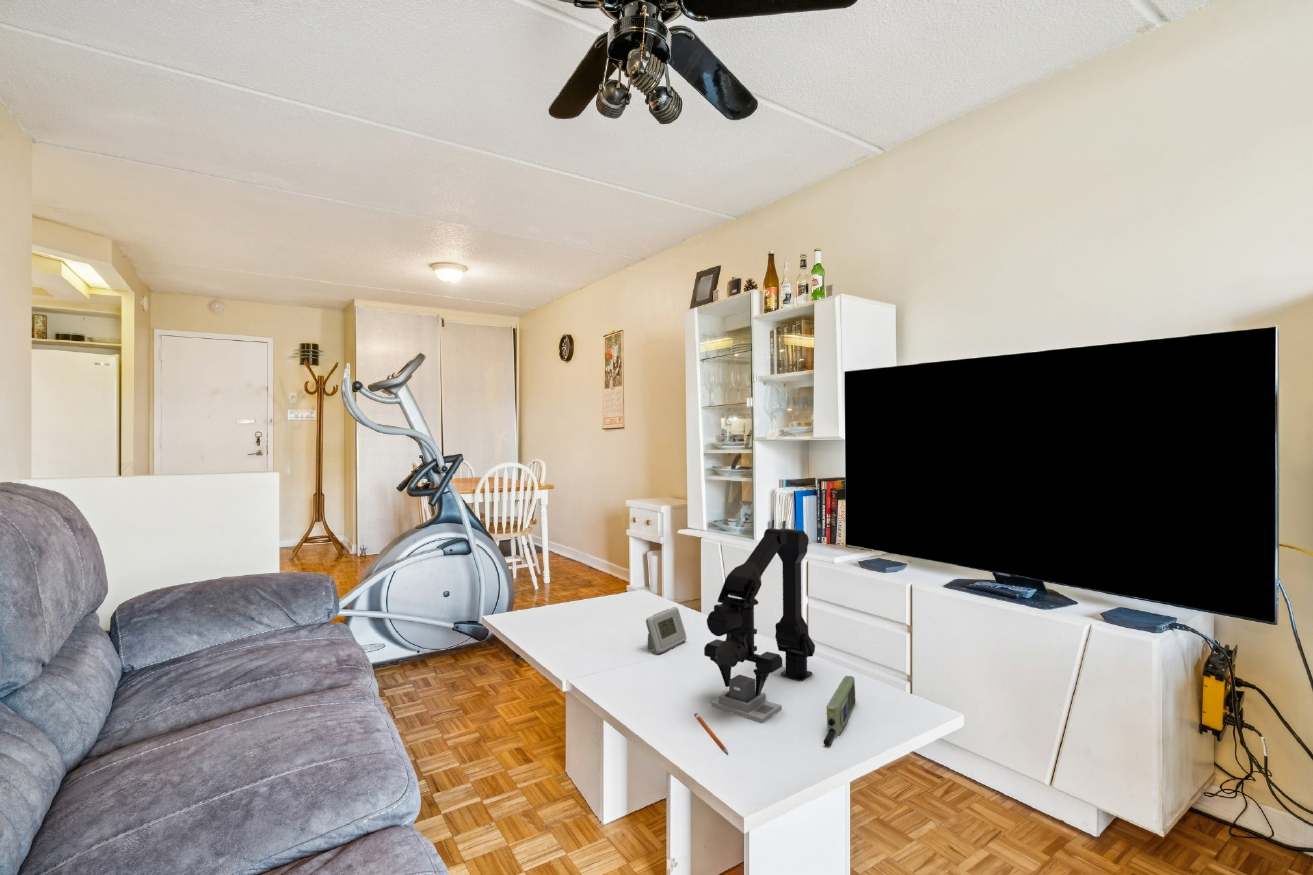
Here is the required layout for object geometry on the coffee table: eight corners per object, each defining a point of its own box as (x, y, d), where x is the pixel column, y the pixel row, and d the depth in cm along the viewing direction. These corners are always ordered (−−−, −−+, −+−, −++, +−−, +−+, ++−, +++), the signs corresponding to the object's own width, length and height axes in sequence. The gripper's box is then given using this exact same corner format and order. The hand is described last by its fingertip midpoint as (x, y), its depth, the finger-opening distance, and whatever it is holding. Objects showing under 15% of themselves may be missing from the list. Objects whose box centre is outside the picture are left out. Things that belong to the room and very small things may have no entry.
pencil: (697, 716, 141) (697, 712, 141) (730, 756, 123) (730, 752, 123) (694, 716, 141) (694, 713, 141) (726, 757, 123) (726, 752, 123)
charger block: (739, 696, 148) (739, 674, 148) (755, 701, 146) (755, 678, 146) (729, 703, 145) (728, 679, 145) (745, 708, 142) (745, 684, 142)
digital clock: (656, 656, 179) (656, 620, 179) (636, 649, 186) (636, 614, 186) (694, 643, 190) (694, 610, 191) (674, 637, 197) (674, 604, 197)
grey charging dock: (731, 693, 153) (731, 682, 153) (781, 709, 144) (781, 697, 144) (711, 705, 146) (711, 694, 146) (762, 723, 137) (762, 710, 137)
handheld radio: (857, 704, 147) (835, 750, 125) (843, 702, 148) (819, 747, 126) (856, 676, 147) (833, 718, 125) (842, 674, 148) (817, 715, 127)
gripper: (690, 626, 145) (691, 691, 145) (759, 642, 133) (759, 713, 133) (716, 615, 154) (717, 677, 154) (783, 630, 142) (783, 697, 142)
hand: (742, 690), depth 145 cm, fingers open, 8 cm apart
